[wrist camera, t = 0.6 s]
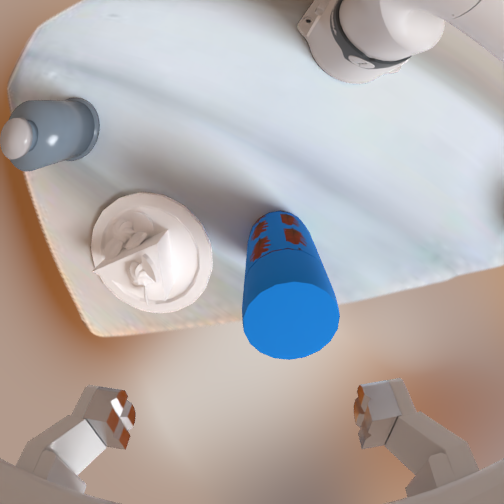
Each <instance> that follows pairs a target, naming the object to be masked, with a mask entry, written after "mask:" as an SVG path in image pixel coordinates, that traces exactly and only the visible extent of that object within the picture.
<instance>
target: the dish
mask: <svg viewBox="0 0 504 504" xmlns="http://www.w3.org/2000/svg"><path fill="white" fill-rule="evenodd" d="M91 252H92V256H93V261H94V266H95V269H94V270H93V271H92V272H93V273H95V274H98V275H99V276H100V277H101V279H102V281H103V283H104V285H105V286H106V287H107V288H108V289H109V290H110V291H111V292H112V293H113V294H114V295H115V296H116V297H117V298H118V299H119V300H121V301H123V302H125V303H127V304H128V305H130V306H132V307H134V308H136V309H138V310H143V311H147V312H152V313H167V312H176V311H178V310H180V309H182V308H184V307H186V306H188V305H190V304H192V303H194V302H195V300H196V299H197V298H198V297H199V296H200V295H201V294H202V292H203V291H204V290H205V289H206V287H207V284H208V281H209V278H210V275H211V272H212V269H213V260H212V245H211V243H210V241H209V238H208V236H207V234H206V232H205V229H204V227H203V225H202V223H201V222H200V221H199V220H198V219H197V218H196V217H195V216H194V215H193V214H192V213H191V212H190V210H189V209H188V208H187V207H186V206H184V205H182V204H181V203H179V202H177V201H175V200H173V199H171V198H169V197H167V196H165V195H162V194H155V193H147V192H138V193H134V194H130V195H127V196H123V197H120V198H118V199H117V200H116V201H115V202H113V203H112V204H111V205H109V206H108V207H107V208H106V209H104V210H103V211H102V213H101V215H100V216H99V218H98V220H97V222H96V224H95V226H94V227H93V233H92V241H91Z"/></svg>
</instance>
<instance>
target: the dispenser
mask: <svg viewBox="0 0 504 504" xmlns="http://www.w3.org/2000/svg"><path fill="white" fill-rule="evenodd" d="M99 127H100V124H99V117H98V114H97V112H96V110H95V108H94V107H93V105H92V104H91V103H90V102H88V101H86V100H84V99H81V98H71V99H67V100H35V101H26V102H24V103H22V104H20V105H19V106H18V107H17V108H16V109H15V110H14V111H13V113H12V114H11V116H10V118H9V120H8V121H7V122H6V124H5V125H4V127H3V129H2V132H1V137H0V144H1V149H2V152H3V153H4V155H5V156H6V157H7V158H9V159H10V160H11V162H12V163H13V164H14V166H15V167H17V168H18V169H20V170H22V171H33V170H36V169H39V168H42V167H45V166H48V165H51V164H55V163H58V162H61V161H65V160H66V161H74V160H77V159H80V158H82V157H84V156H86V155H87V154H88V153H89V152H90V151H91V150H92V149H93V147H94V145H95V143H96V141H97V138H98V135H99Z"/></svg>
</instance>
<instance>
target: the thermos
mask: <svg viewBox="0 0 504 504" xmlns="http://www.w3.org/2000/svg"><path fill="white" fill-rule="evenodd" d="M242 317H243V328H244V332H245V335H246V336H247V338H248V340H249V342H250V344H251V345H253V346H254V347H255V348H256V349H257V350H258V351H259V352H261V353H263V354H266V355H268V356H270V357H273V358H279V359H289V360H290V359H296V358H302V357H306V356H309V355H311V354H313V353H315V352H317V351H319V350H321V349H322V348H323V347H324V346H325V345H326V344H328V343H329V342H330V341H331V339H332V338H333V336H334V334H335V332H336V331H337V329H338V323H339V317H340V316H339V308H338V304H337V300H336V297H335V293H334V291H333V288H332V286H331V283H330V281H329V278H328V276H327V273H326V271H325V269H324V266H323V264H322V261H321V259H320V257H319V254H318V252H317V249H316V247H315V245H314V242H313V240H312V238H311V235H310V233H309V231H308V230H307V228H306V226H305V225H304V224H303V223H302V221H301V220H300V219H299V218H298V217H296V216H295V215H293V214H291V213H288V212H282V211H276V212H271V213H268V214H266V215H264V216H262V217H261V218H259V219H258V221H257V222H256V223H255V224H254V225H253V227H252V230H251V233H250V236H249V240H248V247H247V258H246V270H245V282H244V293H243V304H242Z"/></svg>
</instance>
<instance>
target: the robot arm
mask: <svg viewBox="0 0 504 504" xmlns="http://www.w3.org/2000/svg"><path fill="white" fill-rule="evenodd" d="M306 20H310V22H311V23H307V22H306ZM445 21H447V22H448V23H450V24H451V25H453V26H454V27H456V28H457V29H459V30H460V31H462V32H463V33H465V34H466V35H467V36H469V37H470V38H472V39H473V40H474V41H476V42H477V43H478V44H480V45H481V46H482V47H484V48H485V49H486V50H487V51H489V52H490V53H491V54H492V55H494V56H495V57H496V58H498V59H499V60H501V61H503V62H504V0H314V1H313V3H312V4H311V6H310V7H309V8H308V10H307V11H306V13H305V14H304V16H303V17H302V18H301V20H300V21H299V23H298V25H297V28H298V30H299V32H300V33H301V34H302V35H303V36H304V38H305V39H306V40H307V42H308V44H309V47H310V50H311V53H312V55H313V57H314V59H315V61H316V62H317V63H318V65H319V66H320V67H321V68H322V69H323V70H324V71H325V72H326V73H328V74H329V75H330V76H332V77H334V78H335V79H338V80H340V81H343V82H346V83H351V84H364V83H368V82H371V81H373V80H375V79H377V78H379V77H380V76H382V75H384V74H392V73H396V72H398V71H400V69H401V65H402V64H404V63H406V62H407V61H408V59H409V58H410V57H411V56H412V55H415V54H418V53H421V52H424V51H427V50H429V49H431V48H432V47H433V46H435V45H436V44H437V42H438V41H439V40H440V38H441V36H442V34H443V32H444V28H445ZM357 393H358V398H357V399H356V400H355V403H354V418H355V423H356V425H358V426H359V427H360V430H359V433H358V435H359V439H360V443H361V447H362V449H365V448H372V447H377V446H382V445H385V447H386V448H387V449H388V450H389V451H390V452H391V453H392V454H393V455H394V456H396V457H397V458H398V459H399V460H400V461H401V462H402V463H403V464H404V465H405V466H406V467H407V468H408V469H409V470H411V471H412V472H413V473H414V474H415V475H416V476H415V477H414V478H413V479H412V481H411V482H410V483H409V484H408V486H407V487H406V488H405V489H406V493H407V498H403V499H400V500H396V501H393V502H389V503H385V504H504V458H503V459H501V460H500V461H498V462H496V463H494V464H492V465H490V466H488V467H486V468H484V469H481V470H479V469H478V466H477V464H476V462H475V459H474V457H473V454H472V452H471V450H470V448H469V445H468V443H467V442H466V441H464V440H463V439H461V438H460V437H458V436H457V435H455V434H454V433H452V432H451V431H449V430H448V429H446V428H445V427H443V426H442V425H440V424H439V423H437V422H435V421H434V420H432V419H431V418H430V417H428V416H426V415H425V414H424V413H422V412H416V409H415V407H414V405H413V402H412V400H411V398H410V395H409V393H408V391H407V388H406V386H405V384H404V382H403V380H402V379H401V378H397V379H392V380H387V381H386V380H385V381H379V382H374V383H368V384H362V385H359V387H358V390H357ZM127 398H128V395H127V393H126V392H125V390H119V389H112V388H106V387H99V386H93V385H88V386H87V387H86V388H85V389H84V391H83V393H82V395H81V397H80V399H79V401H78V403H77V405H76V407H75V409H74V411H73V413H72V415H71V416H70V415H68V416H66V417H65V418H63V419H62V420H60V421H59V422H57V423H56V424H54V425H53V426H51V427H50V428H48V429H47V430H45V431H44V432H42V433H41V434H39V435H38V436H36V437H35V438H33V439H32V440H30V441H28V443H27V444H26V446H25V448H24V450H23V452H22V454H21V456H20V458H19V460H18V462H17V464H16V466H14V465H12V464H10V463H8V462H6V461H4V460H3V459H0V504H119V503H115V502H112V501H108V500H104V499H101V498H97V497H94V496H90V495H87V494H84V491H85V488H86V484H85V482H84V481H82V480H81V479H80V478H79V477H78V476H77V475H78V474H79V473H80V472H81V471H82V470H83V469H84V468H85V467H87V466H88V465H89V464H90V463H91V462H92V461H93V460H94V459H95V458H96V457H97V456H98V455H99V454H100V453H101V452H102V451H103V450H105V448H106V446H107V447H113V448H118V449H126V447H127V444H128V441H129V438H130V434H129V432H128V431H129V430H130V429H131V428H132V427H133V426H134V423H135V409H134V406H133V405H132V403H130V402H129V401H128V400H127Z"/></svg>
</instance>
